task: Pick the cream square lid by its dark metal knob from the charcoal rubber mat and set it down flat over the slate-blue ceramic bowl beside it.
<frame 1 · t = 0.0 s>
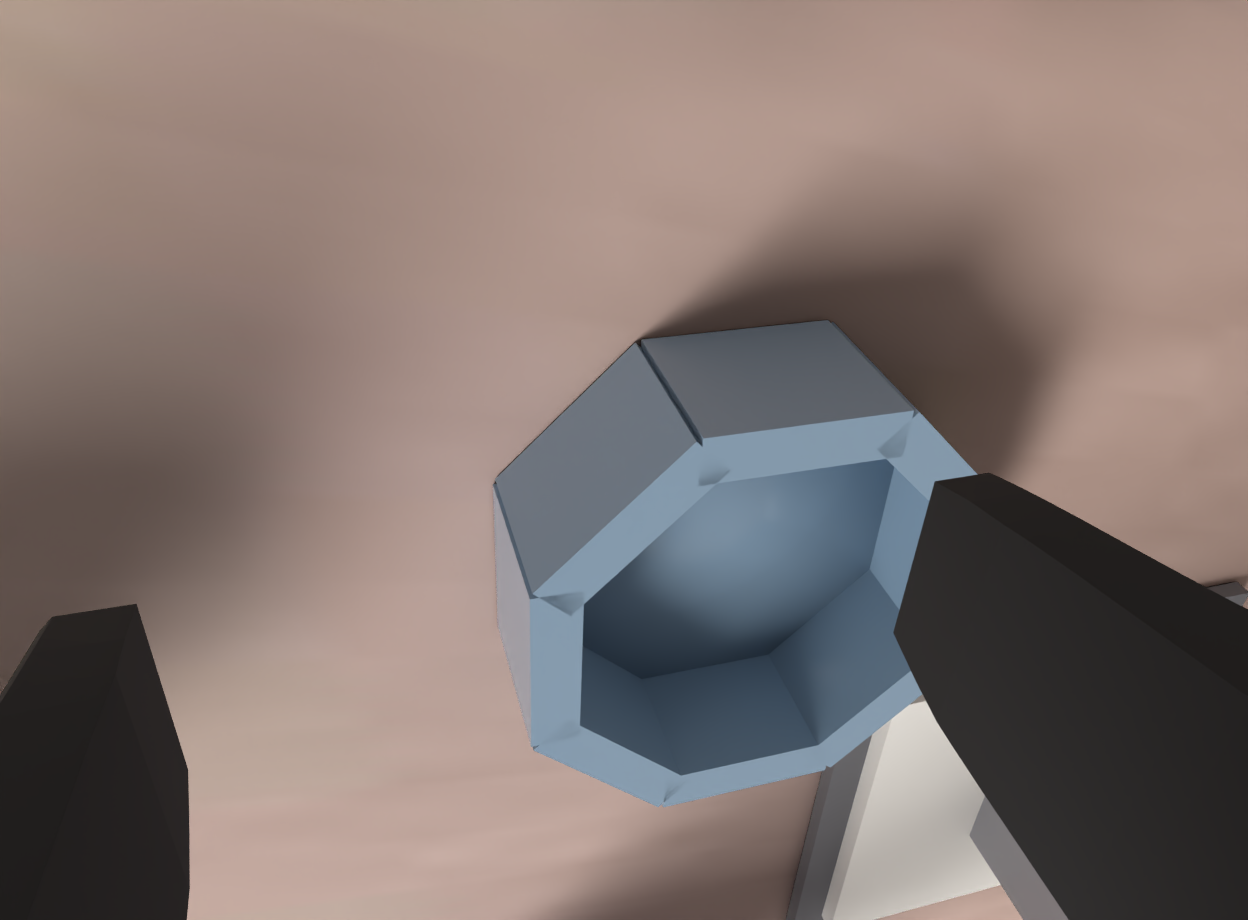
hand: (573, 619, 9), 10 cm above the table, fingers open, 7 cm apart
bowl: (712, 524, 23), on the table
mat: (996, 764, 33), on the table
lid: (1005, 776, 33), resting on mat
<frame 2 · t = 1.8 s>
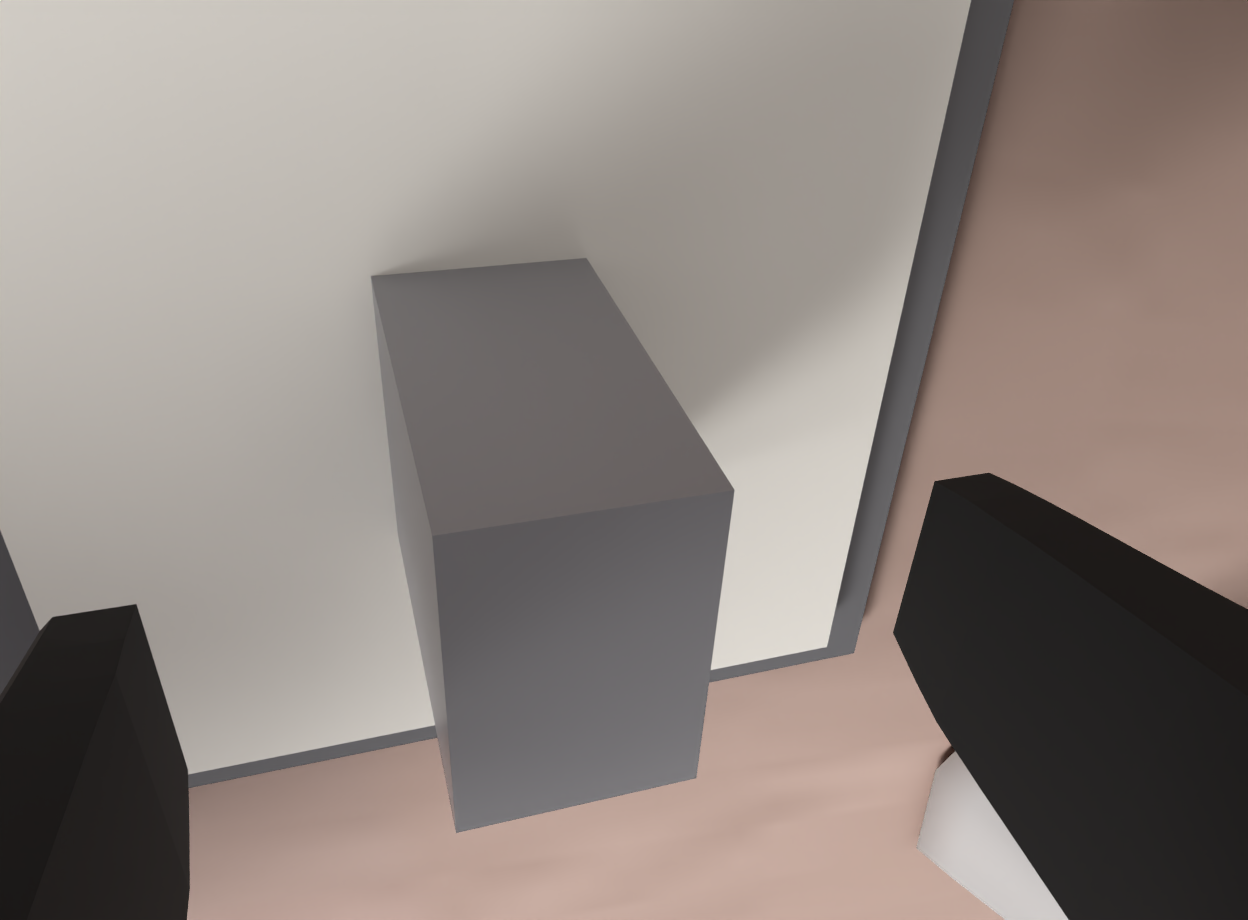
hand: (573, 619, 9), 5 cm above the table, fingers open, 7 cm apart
mat: (470, 360, 13), on the table
flask: (1049, 746, 24), on the table
lid: (477, 379, 13), resting on mat
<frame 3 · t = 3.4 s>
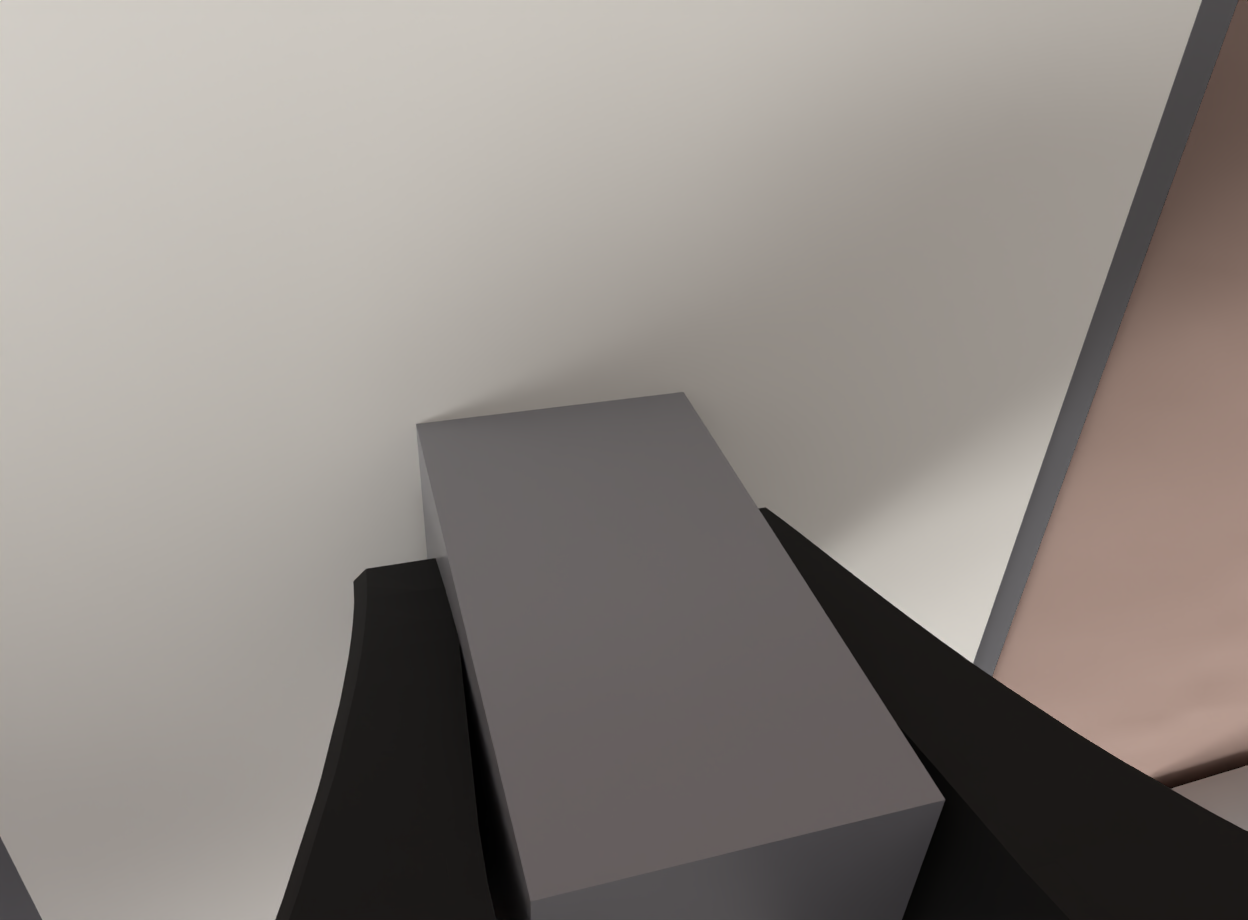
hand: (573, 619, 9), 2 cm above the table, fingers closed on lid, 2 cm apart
mat: (529, 496, 11), on the table
flask: (1143, 859, 21), on the table
lid: (539, 525, 11), resting on mat, touching gripper
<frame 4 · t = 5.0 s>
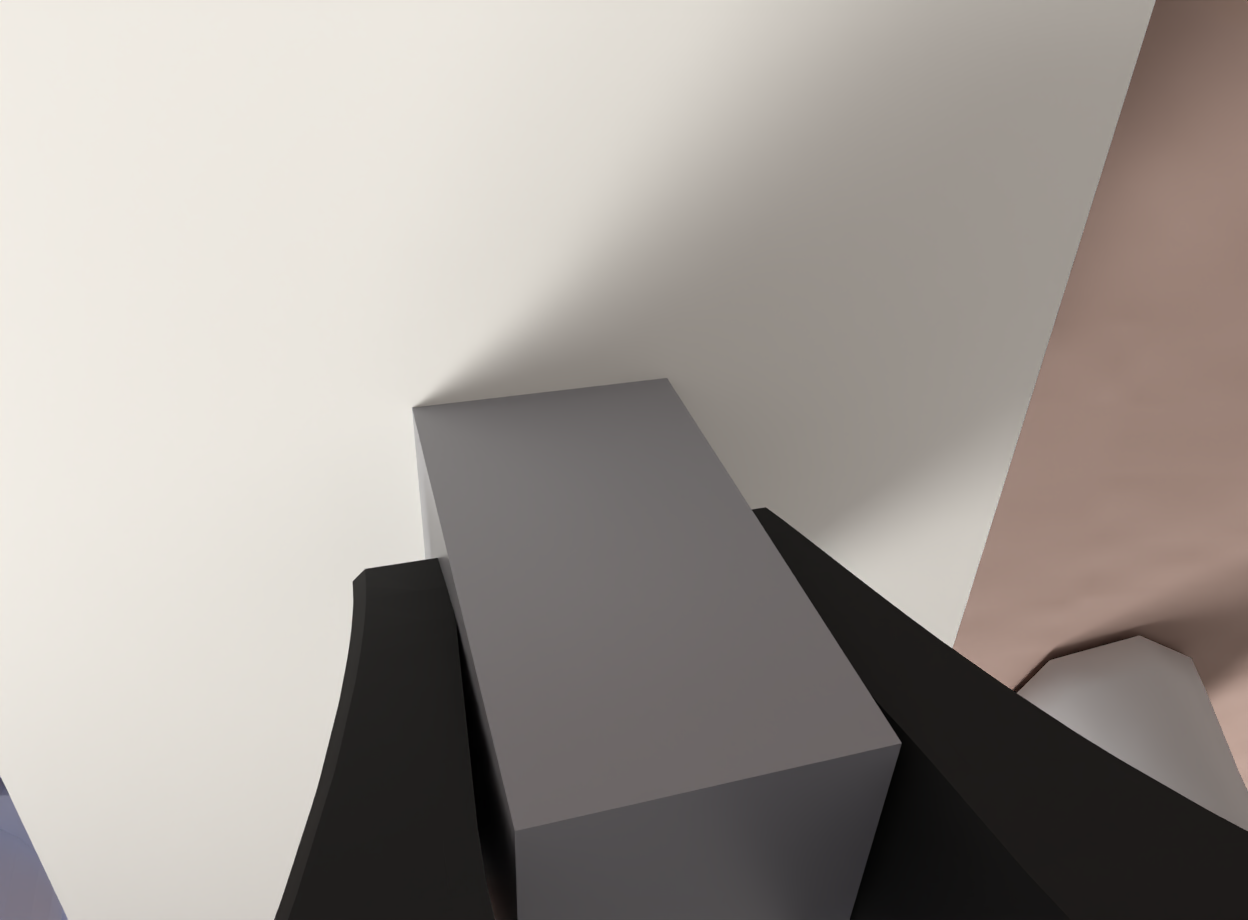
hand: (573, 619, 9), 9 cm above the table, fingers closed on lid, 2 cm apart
flask: (1066, 713, 31), on the table
lid: (531, 508, 11), point 7 cm above the table, touching gripper
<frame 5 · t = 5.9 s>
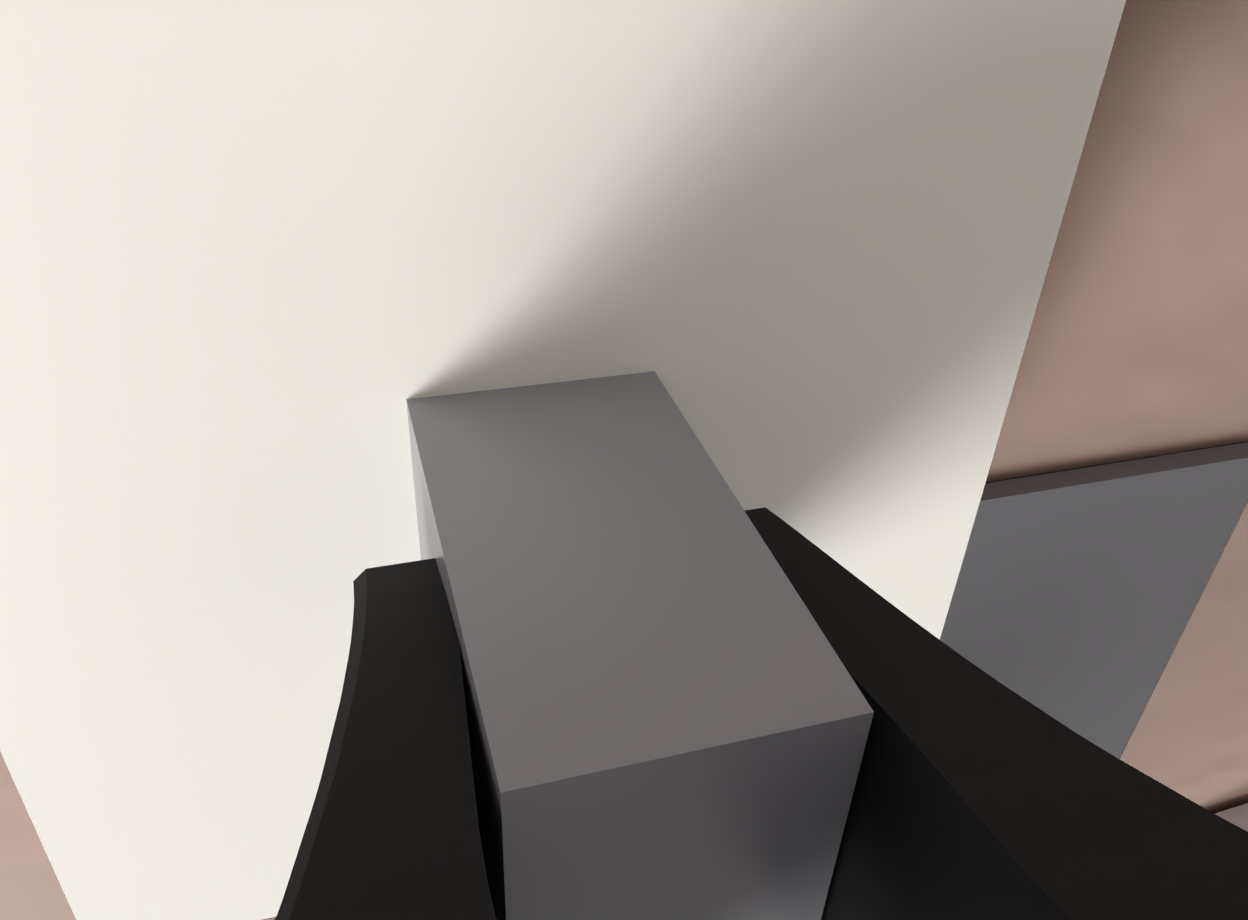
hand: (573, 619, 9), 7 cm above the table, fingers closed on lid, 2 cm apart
mat: (931, 697, 25), on the table
flask: (1184, 858, 35), on the table
lid: (523, 500, 11), point 5 cm above the table, touching gripper
when the fingers open (6 cm above the table, at t = 6.7 s): lid stays where it is, resting on bowl.
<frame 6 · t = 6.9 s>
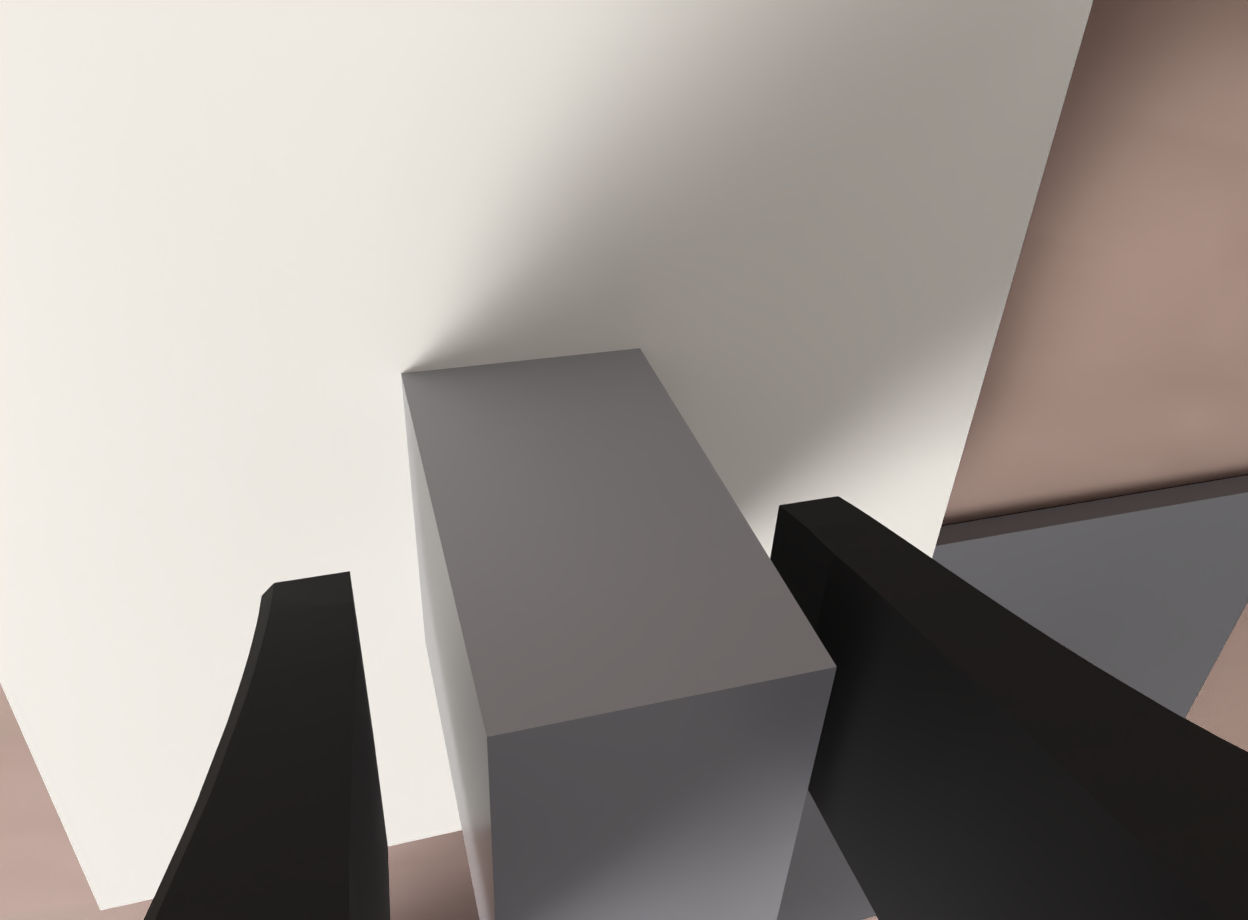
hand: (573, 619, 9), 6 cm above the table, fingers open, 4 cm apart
mat: (956, 729, 24), on the table
lid: (514, 472, 12), point 3 cm above the table, touching bowl
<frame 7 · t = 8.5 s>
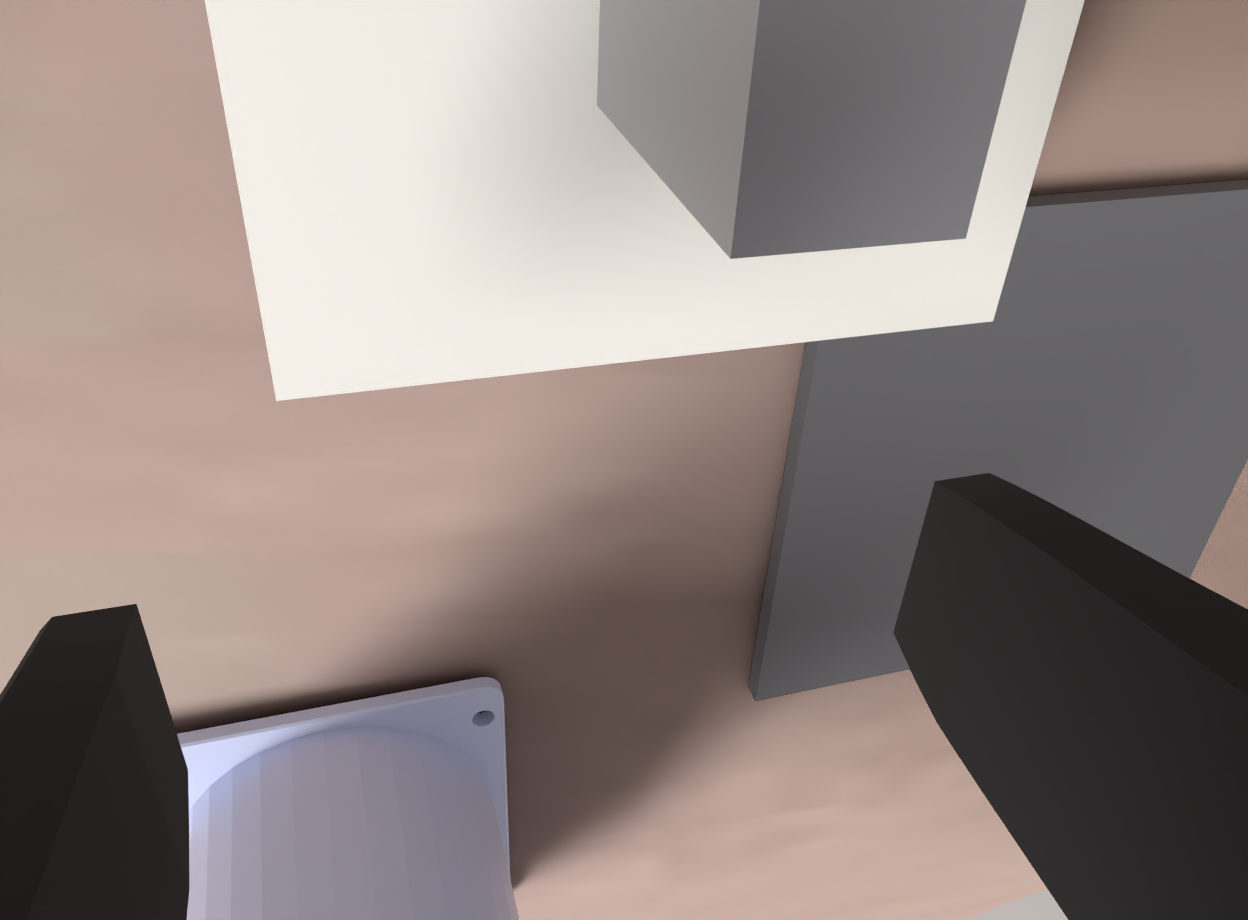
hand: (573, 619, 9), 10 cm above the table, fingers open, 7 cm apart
mat: (1030, 450, 25), on the table
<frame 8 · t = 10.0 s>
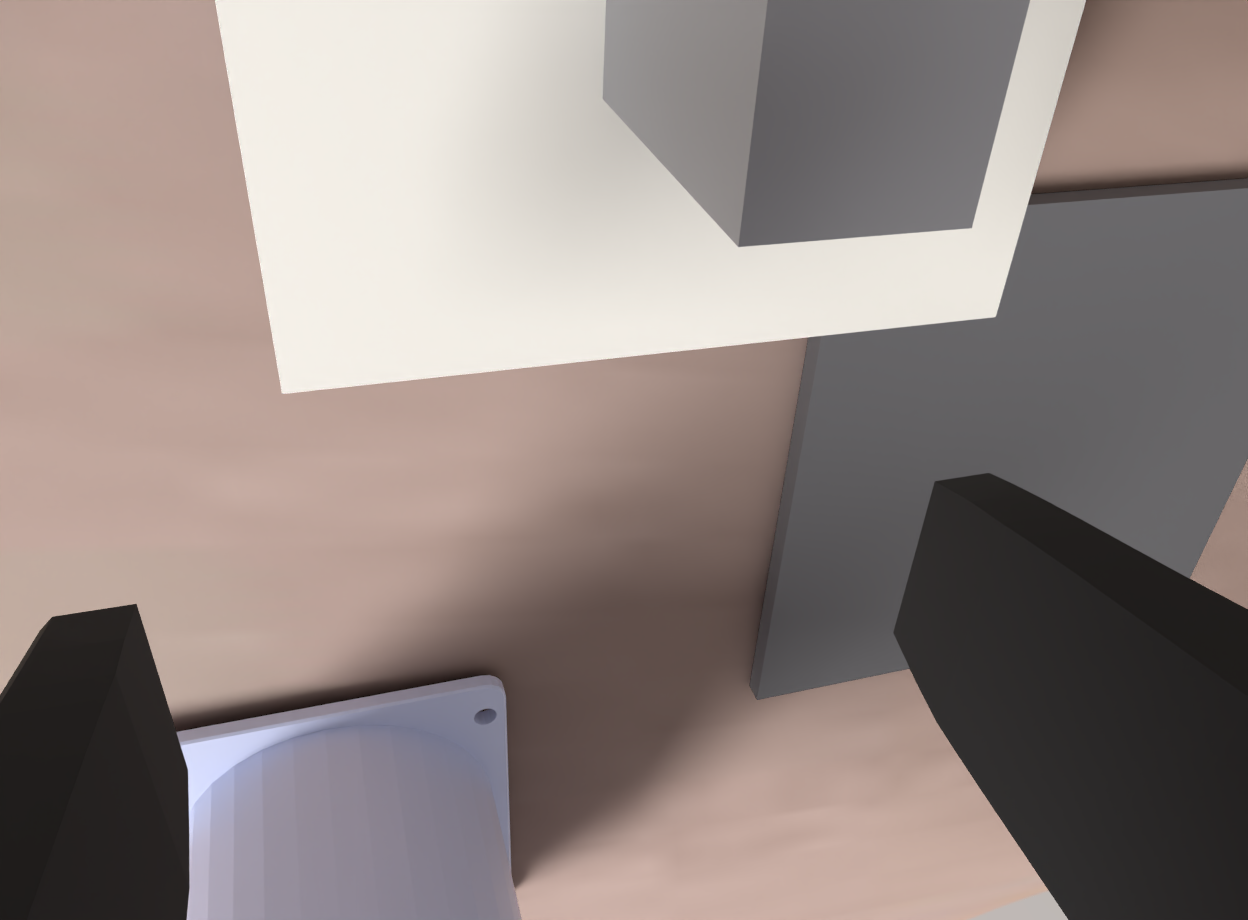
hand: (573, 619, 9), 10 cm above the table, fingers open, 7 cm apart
mat: (1031, 449, 25), on the table
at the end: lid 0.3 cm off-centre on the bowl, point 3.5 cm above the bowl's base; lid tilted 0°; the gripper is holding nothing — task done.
